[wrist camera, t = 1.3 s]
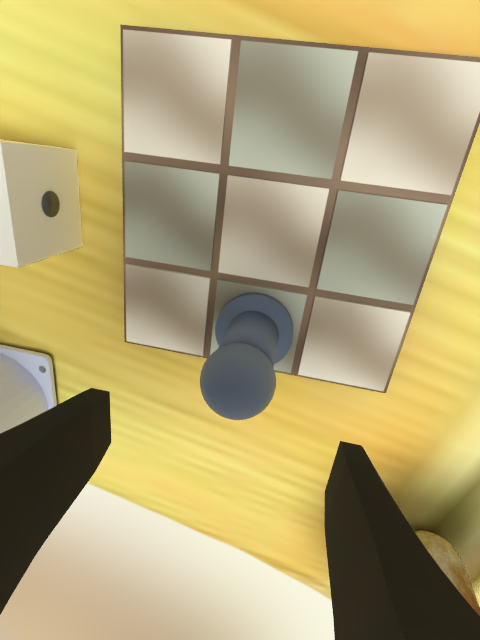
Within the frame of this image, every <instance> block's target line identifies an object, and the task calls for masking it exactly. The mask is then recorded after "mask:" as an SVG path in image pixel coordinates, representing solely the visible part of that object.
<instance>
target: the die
mask: <svg viewBox="0 0 480 640" xmlns="http://www.w3.org/2000/svg"><path fill="white" fill-rule="evenodd" d="M79 247H83V243H82V226H81V210H80V193H79V177H78V160H77V149H70V148H63V147H55V146H48V145H40V144H33V143H25V142H18V141H10V140H3V139H0V265H6V266H11V267H17V268H19V267H22V266H25V265H28V264H31V263H34V262H37V261H40V260H43V259H46V258H49V257H52V256H55V255H58V254H61V253H64V252H67V251H70V250H73V249H76V248H79Z"/></svg>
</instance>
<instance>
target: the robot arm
mask: <svg viewBox="0 0 480 640" xmlns="http://www.w3.org/2000/svg"><path fill="white" fill-rule="evenodd" d="M44 367H45V368H46V369H45V368H44ZM110 443H111V422H110V395H109V392H108V391H103V390H98V389H94V388H90V389H88V390H86V391H84V392H82V393H80V394H78V395H76V396H74V397H72V398H70V399H68V400H66V401H64V402H63V403H61V404H59V405H57V401H56V392H55V383H54V374H53V365H52V360H51V358H50V356H48V355H47V354H44V353H39V352H34V351H29V350H24V349H19V348H15V347H10V346H5V345H0V614H1V612H2V611H3V609H4V607H5V605H6V604H7V602H8V600H9V598H10V597H11V595H12V593H13V592H14V590H15V588H16V587H17V585H18V583H19V582H20V580H21V578H22V577H23V575H24V573H25V572H26V570H27V568H28V567H29V565H30V563H31V562H32V560H33V558H34V556H35V555H36V554H37V552H38V551H39V549H40V548H41V546H42V545H43V543H44V542H45V540H46V539H47V538H48V536H49V535H50V533H51V532H52V531H53V529H54V528H55V526H56V525H57V524H58V522H59V521H60V520H61V518H62V517H63V515H64V514H65V513H66V511H67V510H68V509H69V507H70V506H71V505H72V503H73V502H74V500H75V499H76V498H77V496H78V495H79V493H80V492H81V491H82V489H83V488H84V486H85V485H86V484H87V482H88V481H89V479H90V478H91V477H92V475H93V474H94V472H95V471H96V469H97V467H98V465H99V464H100V462H101V460H102V458H103V457H104V455H105V453H106V451H107V449H108V447H109V445H110ZM325 537H326V547H327V558H328V567H329V577H330V587H331V597H332V607H333V616H334V632H335V640H480V616H479V615H478V614H477V612H476V611H475V610H474V609H473V608H472V607H471V605H470V604H469V603H468V602H467V601H466V599H465V598H464V597H463V596H462V595H461V593H460V592H459V591H458V589H457V588H456V587H455V586H454V584H453V583H452V582H451V581H450V579H449V578H448V577H447V576H446V574H445V573H444V572H443V571H442V569H441V568H440V567H439V565H438V564H437V563H436V561H435V560H434V559H433V557H432V556H431V555H430V553H429V552H428V550H427V549H426V548H425V546H424V545H423V543H422V542H421V540H420V539H419V538H418V536H417V535H416V533H415V532H414V530H413V529H412V527H411V526H410V524H409V523H408V521H407V520H406V518H405V517H404V515H403V514H402V512H401V511H400V509H399V507H398V506H397V504H396V503H395V501H394V500H393V498H392V496H391V495H390V493H389V491H388V490H387V488H386V487H385V485H384V483H383V481H382V480H381V478H380V476H379V475H378V473H377V471H376V469H375V468H374V466H373V464H372V462H371V461H370V459H369V457H368V455H367V454H366V452H365V450H364V449H363V447H362V446H361V445H356V444H351V443H347V442H342V441H340V444H339V447H338V450H337V454H336V457H335V460H334V463H333V467H332V470H331V473H330V477H329V480H328V483H327V486H326V490H325Z"/></svg>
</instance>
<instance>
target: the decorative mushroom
mask: <svg viewBox="0 0 480 640" xmlns="http://www.w3.org/2000/svg"><path fill="white" fill-rule="evenodd" d="M414 532H415V533H416V535H417V536H418V538H419V539H420V540H421V542H422V543H423V545H424V546H425V548H426V549H427V550H428V552H429V553H430V555H431V556H432V557H433V559H434V560H435V561H436V563H437V564H438V565H439V567H440V568H441V569H442V571H443V572H444V573H445V574H446V576H447V577H448V578H449V579H450V581H451V582H452V583H453V584H454V586H455V587H456V588H457V589H458V591H459V592H460V593H461V595H462V596H463V597H464V598H465V599H466V601H467V602H468V603H469V604H470V605H471V607H472V608H473V609H474V610H475V611H476V612H477V614H478V615H479V616H480V607H479V605H478V602H477V599H476V596H475V593H474V591H473V588H472V585H471V582H470V580H469V577H468V574H467V572H466V569H465V567H464V565H463V563H462V561H461V559H460V557H459V555H458V553H457V552H456V551H455V550H454V547H453V546H452V545H451V544H450V543H449V542H448V541H447V540H445V539H443V538H442V537H441V536H439V535H437V534H435V533H432V532H427V531H422V530H419V531H414Z"/></svg>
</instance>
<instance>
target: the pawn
mask: <svg viewBox="0 0 480 640" xmlns="http://www.w3.org/2000/svg"><path fill="white" fill-rule="evenodd" d="M215 335H216V340H217V343H218V345H219V347H218V349H217V350H216V351H214V352H213V353H212V354H211V355H210V356H209V357H208V359H207V360H206V362H205V364H204V366H203V368H202V371H201V376H200V387H201V392H202V395H203V397H204V400H205V401H206V403H207V404H208V405H209V407H210V408H211V409H212V410H213V411H214V412H216V413H217V414H219V415H220V416H222V417H225V418H228V419H232V420H243V419H248V418H251V417H254V416H256V415H257V414H259V413H260V412H262V411H263V410H264V409H265V408H266V407H267V406H268V404H269V403H270V401H271V399H272V397H273V395H274V391H275V387H276V376H275V371H274V364H276V363H278V362H279V361H281V360H282V359H283V358H284V357H285V356H286V354H287V353H288V351H289V349H290V347H291V344H292V339H293V321H292V318H291V316H290V314H289V312H288V310H287V309H286V307H285V306H284V305H283V304H282V303H281V302H280V301H278V300H277V299H275V298H274V297H272V296H269V295H267V294H263V293H257V292H250V293H244V294H241V295H239V296H236V297H235V298H233V299H232V300H230V301H229V302H228V303H227V304H226V305H225V307H224V308H223V310H222V311H221V313H220V315H219V317H218V319H217V322H216V326H215Z"/></svg>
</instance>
